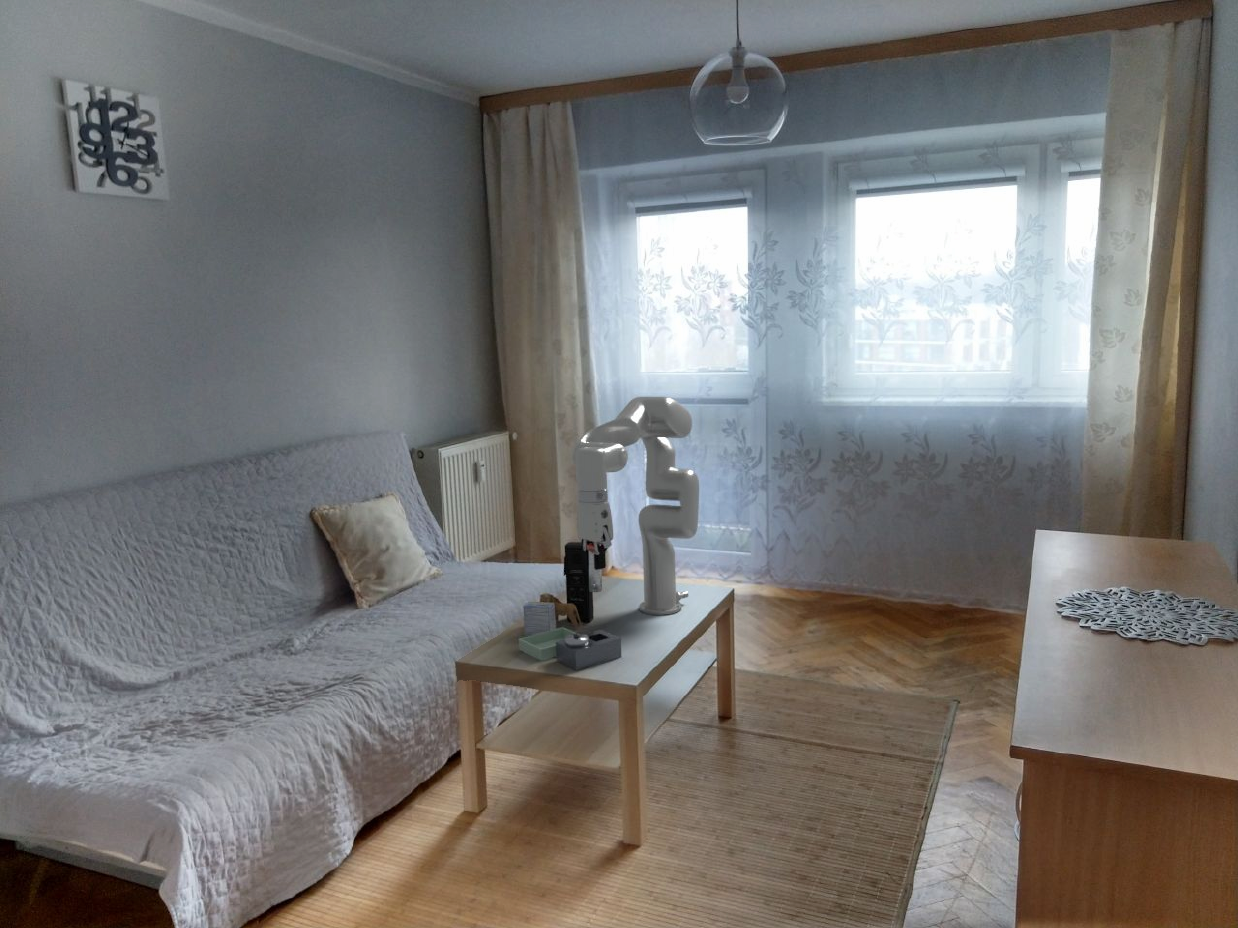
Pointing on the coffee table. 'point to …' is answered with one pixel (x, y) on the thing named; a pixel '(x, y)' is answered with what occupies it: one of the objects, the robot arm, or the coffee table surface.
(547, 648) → the tray
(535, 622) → the medicine box
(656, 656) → the coffee table surface
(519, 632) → the coffee table surface
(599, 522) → the robot arm
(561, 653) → the block
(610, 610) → the coffee table surface
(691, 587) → the coffee table surface
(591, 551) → the pin
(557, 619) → the lion figurine
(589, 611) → the portable radio
